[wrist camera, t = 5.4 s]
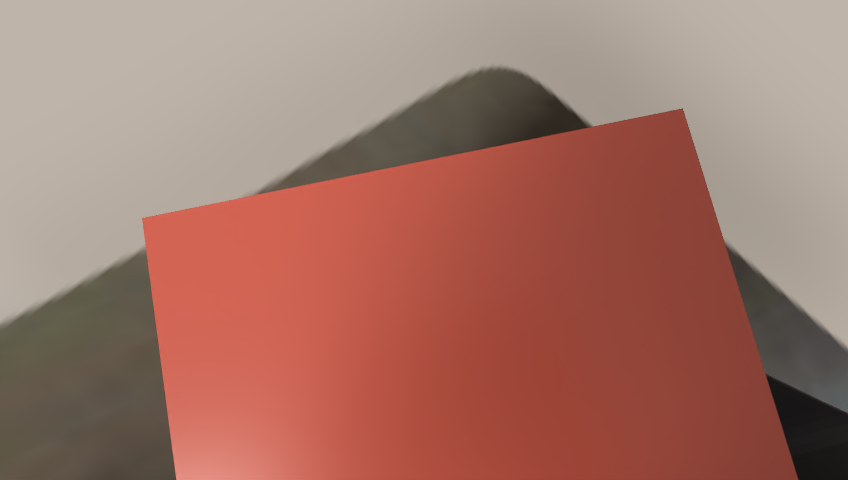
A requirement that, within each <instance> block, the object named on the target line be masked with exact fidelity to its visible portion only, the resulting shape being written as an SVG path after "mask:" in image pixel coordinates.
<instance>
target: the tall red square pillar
mask: <svg viewBox="0 0 848 480" xmlns="http://www.w3.org/2000/svg"><path fill="white" fill-rule="evenodd" d="M142 221H143V228H144V236H145V243H146V251H147V259H148V266H149V274H150V282H151V289H152V297H153V304H154V312H155V320H156V327H157V335H158V343H159V350H160V358H161V366H162V373H163V381H164V388H165V396H166V404H167V411H168V419H169V427H170V434H171V442H172V449H173V457H174V465H175V472H176V480H798V477H797V474H796V470H795V467H794V464H793V461H792V458H791V454H790V451H789V448H788V445H787V442H786V438H785V435H784V432H783V429H782V426H781V422H780V419H779V416H778V413H777V410H776V406H775V403H774V400H773V397H772V393H771V390H770V387H769V384H768V381H767V377H766V374H765V371H764V368H763V365H762V361H761V358H760V355H759V352H758V349H757V345H756V342H755V339H754V336H753V332H752V329H751V326H750V323H749V320H748V316H747V313H746V310H745V307H744V304H743V300H742V297H741V294H740V291H739V288H738V284H737V281H736V278H735V275H734V272H733V268H732V265H731V262H730V259H729V255H728V252H727V249H726V246H725V243H724V239H723V236H722V233H721V230H720V227H719V224H718V221H717V217H716V214H715V211H714V207H713V204H712V201H711V198H710V195H709V191H708V188H707V185H706V182H705V178H704V176H703V172H702V169H701V166H700V162H699V159H698V156H697V153H696V150H695V147H694V143H693V140H692V137H691V134H690V131H689V127H688V124H687V121H686V118H685V114H684V111H683V109H678V110H673V111H669V112H664V113H659V114H654V115H649V116H644V117H639V118H634V119H629V120H624V121H619V122H614V123H609V124H604V125H599V126H594V127H589V128H584V129H580V130H575V131H570V132H565V133H560V134H555V135H550V136H545V137H540V138H535V139H530V140H525V141H520V142H515V143H511V144H506V145H501V146H496V147H491V148H486V149H481V150H476V151H471V152H466V153H461V154H456V155H451V156H446V157H442V158H437V159H432V160H427V161H422V162H417V163H412V164H407V165H402V166H397V167H392V168H387V169H382V170H377V171H373V172H368V173H363V174H358V175H353V176H348V177H343V178H338V179H333V180H328V181H323V182H318V183H313V184H308V185H304V186H299V187H294V188H289V189H284V190H279V191H274V192H269V193H264V194H259V195H254V196H249V197H244V198H239V199H235V200H230V201H225V202H220V203H215V204H210V205H205V206H200V207H195V208H190V209H186V210H180V211H175V212H171V213H166V214H161V215H156V216H151V217H146V218H142Z"/></svg>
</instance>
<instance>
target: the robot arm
mask: <svg viewBox="0 0 848 480" xmlns="http://www.w3.org/2000/svg"><path fill="white" fill-rule="evenodd" d="M766 377H767V381H768V384H769V387H770V390H771V393H772V397H773V400H774V403H775V406H776V410H777V413H778V416H779V419H780V422H781V426H782V429H783V432H784V435H785V438H786V442H787V445H788V448H789V451H790V454H791V458H792V461H793V464H794V467H795V470H796V474H797V477H798V480H848V413H847V412H844V411H842V410H840V409H838V408H835V407H833V406H831V405H829V404H827V403H825V402H823V401H821V400H819V399H817V398H814V397H812V396H810V395H808V394H806V393H804V392H802V391H800V390H798V389H796V388H794V387H792V386H790V385H788V384H786V383H783V382H781V381H779V380H777V379H775V378H773V377H771V376H769V375H767V374H766Z"/></svg>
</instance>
